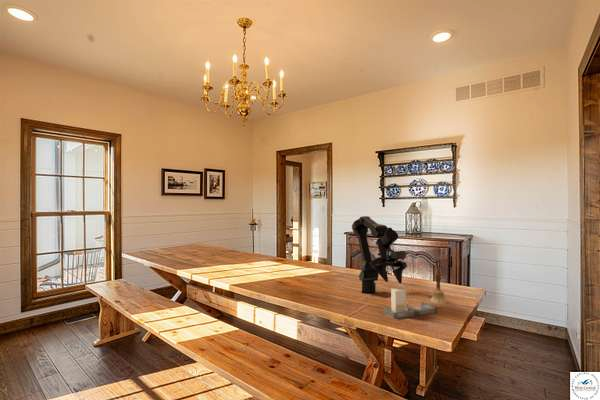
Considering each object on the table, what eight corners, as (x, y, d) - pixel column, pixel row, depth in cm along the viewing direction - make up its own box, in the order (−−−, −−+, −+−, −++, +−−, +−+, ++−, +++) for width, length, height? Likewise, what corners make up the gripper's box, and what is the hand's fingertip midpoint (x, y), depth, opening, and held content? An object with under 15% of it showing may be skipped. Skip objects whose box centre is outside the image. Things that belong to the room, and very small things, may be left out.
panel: (395, 321, 127) (395, 314, 127) (380, 312, 137) (380, 305, 137) (438, 315, 133) (438, 308, 133) (421, 306, 144) (421, 300, 144)
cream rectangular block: (391, 311, 135) (391, 288, 135) (401, 311, 136) (400, 287, 136) (395, 315, 131) (395, 291, 131) (405, 314, 132) (405, 290, 132)
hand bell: (425, 300, 153) (425, 267, 153) (442, 299, 154) (441, 266, 154) (434, 306, 145) (434, 271, 145) (451, 305, 145) (451, 270, 145)
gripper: (384, 240, 138) (394, 274, 130) (411, 246, 148) (421, 278, 140) (366, 249, 146) (374, 283, 138) (393, 254, 156) (401, 286, 148)
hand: (393, 282), depth 140 cm, fingers open, 9 cm apart
